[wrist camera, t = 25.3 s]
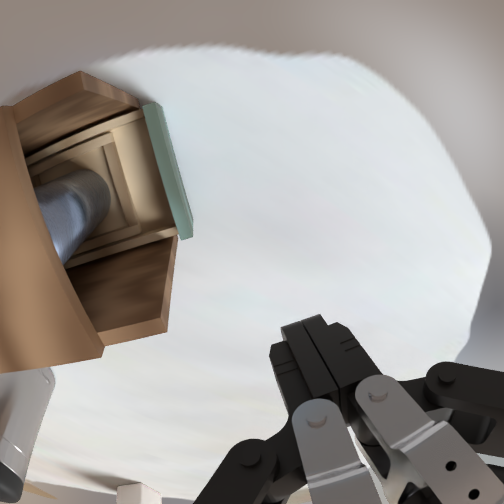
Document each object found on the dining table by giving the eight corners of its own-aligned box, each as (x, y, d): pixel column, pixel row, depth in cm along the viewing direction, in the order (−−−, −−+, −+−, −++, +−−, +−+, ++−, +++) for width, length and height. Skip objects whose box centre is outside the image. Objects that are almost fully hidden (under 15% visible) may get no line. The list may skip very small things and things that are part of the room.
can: (102, 235, 26) (51, 306, 15) (52, 217, 24) (-19, 275, 13) (118, 179, 24) (63, 219, 13) (65, 161, 23) (-13, 190, 12)
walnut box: (47, 278, 29) (-21, 376, 14) (3, 160, 23) (-105, 198, 8) (178, 238, 30) (166, 343, 15) (138, 98, 24) (72, 67, 10)
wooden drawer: (48, 265, 28) (28, 287, 23) (12, 169, 23) (-14, 178, 19) (193, 219, 29) (192, 237, 24) (162, 106, 25) (154, 101, 20)
